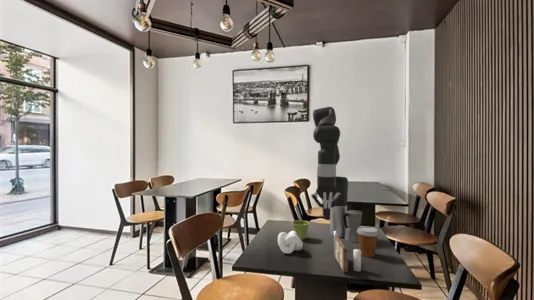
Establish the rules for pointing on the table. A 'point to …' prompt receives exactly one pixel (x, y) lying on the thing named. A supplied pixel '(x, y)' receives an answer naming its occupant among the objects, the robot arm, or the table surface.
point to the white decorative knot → (289, 242)
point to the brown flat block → (341, 253)
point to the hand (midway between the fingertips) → (326, 217)
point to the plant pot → (301, 228)
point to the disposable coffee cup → (367, 240)
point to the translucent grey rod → (334, 240)
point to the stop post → (357, 260)
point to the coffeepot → (352, 224)
